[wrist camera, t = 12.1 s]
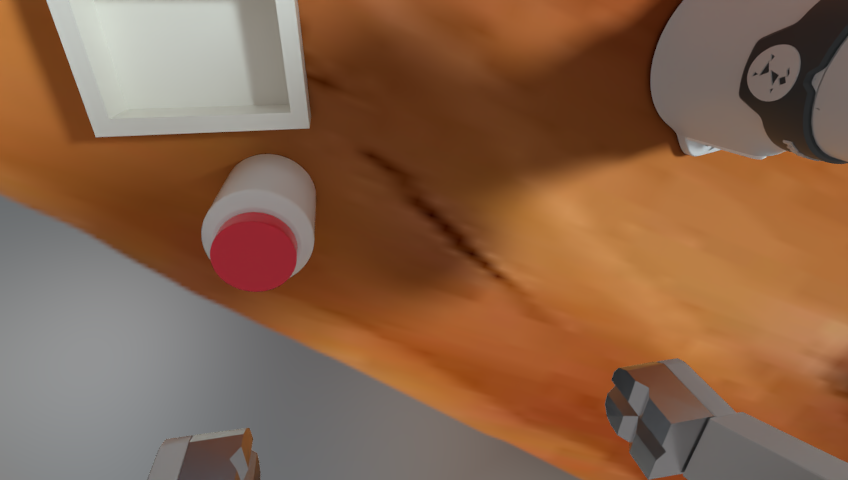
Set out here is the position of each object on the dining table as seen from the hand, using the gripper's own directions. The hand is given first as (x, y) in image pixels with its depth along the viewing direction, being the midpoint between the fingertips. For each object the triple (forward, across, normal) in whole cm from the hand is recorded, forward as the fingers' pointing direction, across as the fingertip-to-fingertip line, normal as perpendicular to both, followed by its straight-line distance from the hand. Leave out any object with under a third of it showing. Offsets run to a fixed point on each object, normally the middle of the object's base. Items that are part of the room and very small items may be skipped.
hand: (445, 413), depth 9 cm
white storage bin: (+31, +11, -5) cm, 33 cm away
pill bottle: (+31, +8, +7) cm, 33 cm away
